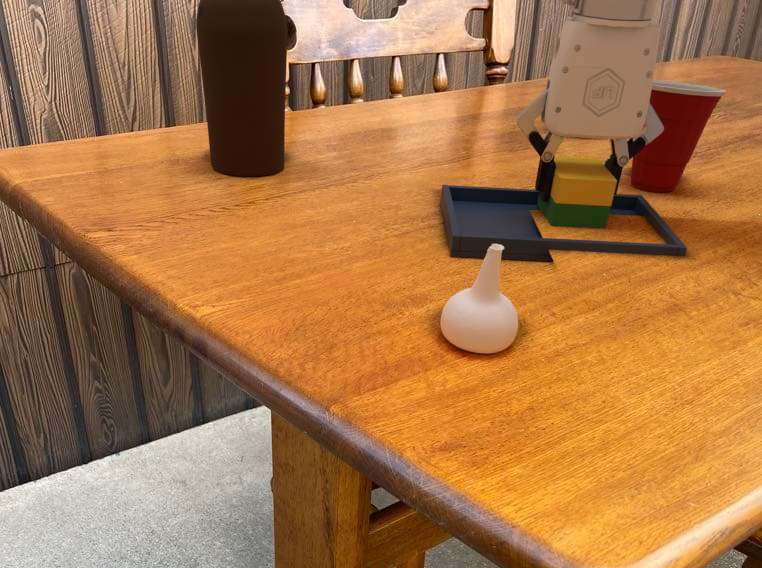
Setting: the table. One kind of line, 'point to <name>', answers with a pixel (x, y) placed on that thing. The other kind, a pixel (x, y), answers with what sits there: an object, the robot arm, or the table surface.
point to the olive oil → (244, 83)
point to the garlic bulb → (481, 311)
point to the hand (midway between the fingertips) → (573, 198)
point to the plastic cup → (673, 133)
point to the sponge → (579, 193)
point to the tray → (533, 225)
